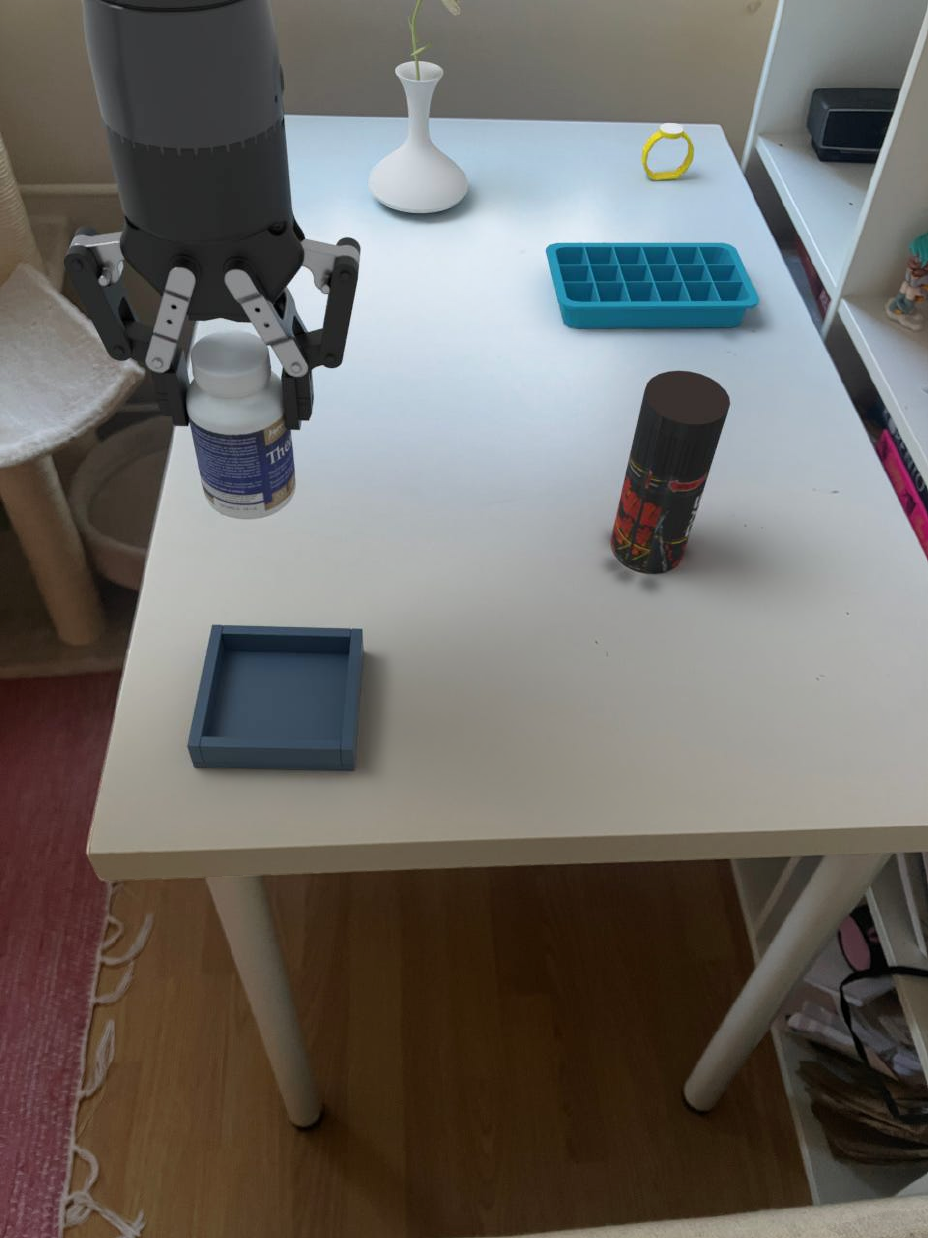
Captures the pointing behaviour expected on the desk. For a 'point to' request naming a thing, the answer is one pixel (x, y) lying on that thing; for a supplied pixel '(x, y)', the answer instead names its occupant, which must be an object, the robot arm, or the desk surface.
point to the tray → (278, 698)
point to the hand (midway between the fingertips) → (240, 417)
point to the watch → (669, 133)
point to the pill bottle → (240, 426)
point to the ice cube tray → (650, 284)
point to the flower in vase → (419, 146)
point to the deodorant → (668, 469)
